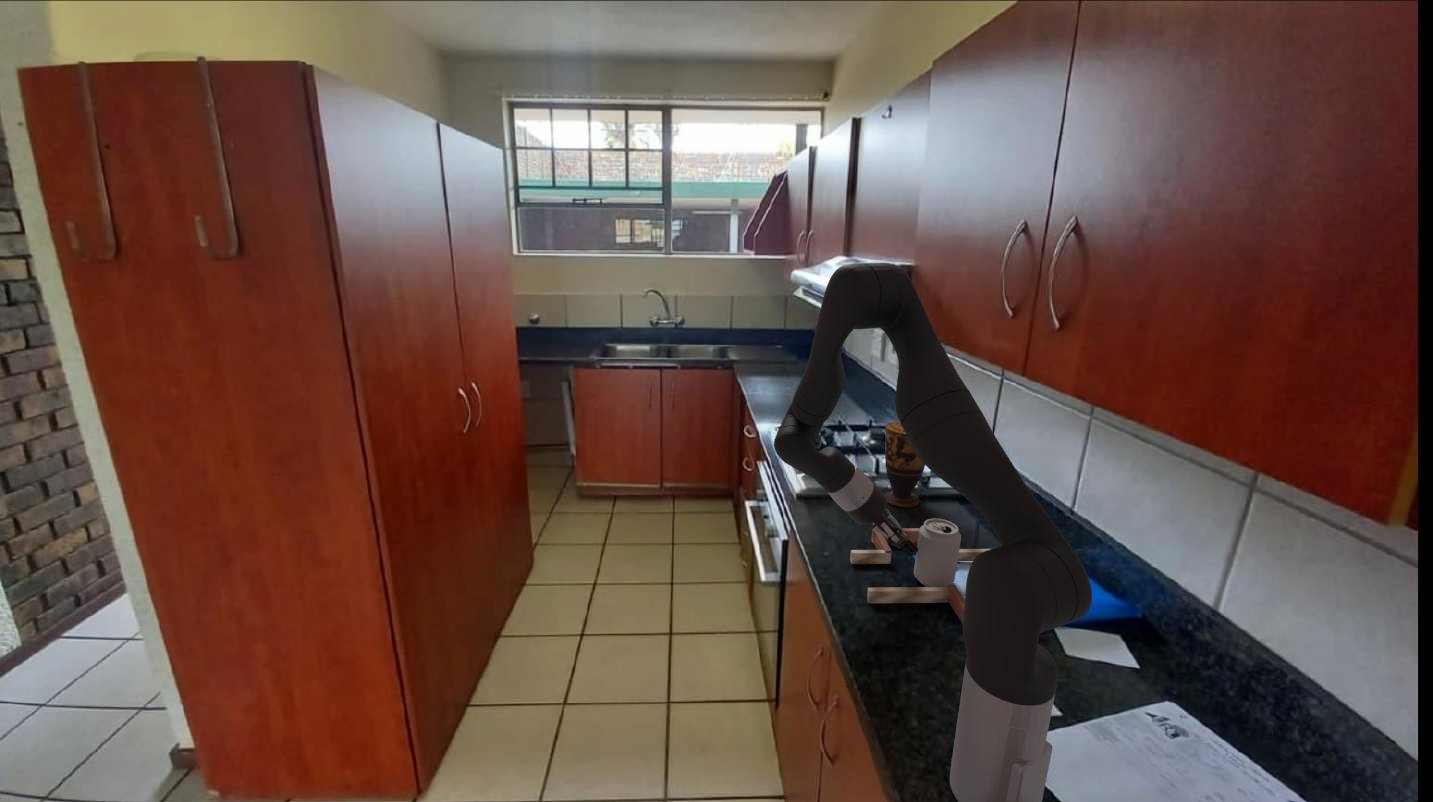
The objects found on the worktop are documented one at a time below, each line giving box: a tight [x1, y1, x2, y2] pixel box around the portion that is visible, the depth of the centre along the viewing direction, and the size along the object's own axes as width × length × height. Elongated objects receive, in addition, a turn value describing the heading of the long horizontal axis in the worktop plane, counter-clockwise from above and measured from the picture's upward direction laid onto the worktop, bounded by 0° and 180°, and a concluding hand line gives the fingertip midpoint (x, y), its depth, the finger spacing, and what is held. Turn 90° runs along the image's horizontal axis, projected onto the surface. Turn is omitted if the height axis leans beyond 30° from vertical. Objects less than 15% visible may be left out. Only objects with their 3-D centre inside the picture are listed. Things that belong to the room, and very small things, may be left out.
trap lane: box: [849, 527, 991, 625], centre depth 114 cm, size 33×30×3 cm
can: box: [913, 518, 962, 587], centre depth 113 cm, size 8×8×12 cm
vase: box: [884, 420, 926, 509], centre depth 144 cm, size 11×11×30 cm
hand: (913, 551), depth 114 cm, fingers closed
